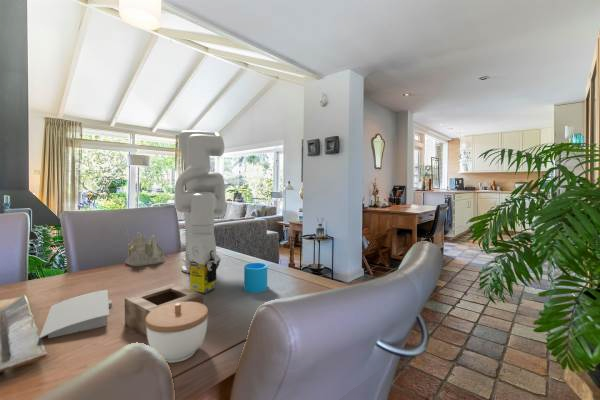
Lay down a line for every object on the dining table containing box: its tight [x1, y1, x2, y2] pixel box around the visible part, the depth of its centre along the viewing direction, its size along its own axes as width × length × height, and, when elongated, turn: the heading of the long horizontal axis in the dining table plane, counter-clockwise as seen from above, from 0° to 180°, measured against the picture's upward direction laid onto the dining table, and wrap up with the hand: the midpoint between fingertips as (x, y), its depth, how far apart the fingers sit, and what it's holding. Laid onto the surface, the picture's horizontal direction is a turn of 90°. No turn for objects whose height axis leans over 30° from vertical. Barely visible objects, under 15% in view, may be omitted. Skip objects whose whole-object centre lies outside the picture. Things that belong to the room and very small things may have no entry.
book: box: [39, 289, 113, 339], centre depth 81 cm, size 15×23×4 cm, turn 34°
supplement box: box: [189, 260, 216, 296], centre depth 101 cm, size 6×6×11 cm
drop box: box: [124, 283, 204, 338], centre depth 79 cm, size 14×14×7 cm
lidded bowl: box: [145, 301, 209, 364], centre depth 65 cm, size 13×13×11 cm
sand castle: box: [124, 231, 166, 267], centre depth 138 cm, size 16×16×15 cm
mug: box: [243, 262, 268, 294], centre depth 106 cm, size 12×8×8 cm
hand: (202, 278), depth 101 cm, fingers open, 9 cm apart
